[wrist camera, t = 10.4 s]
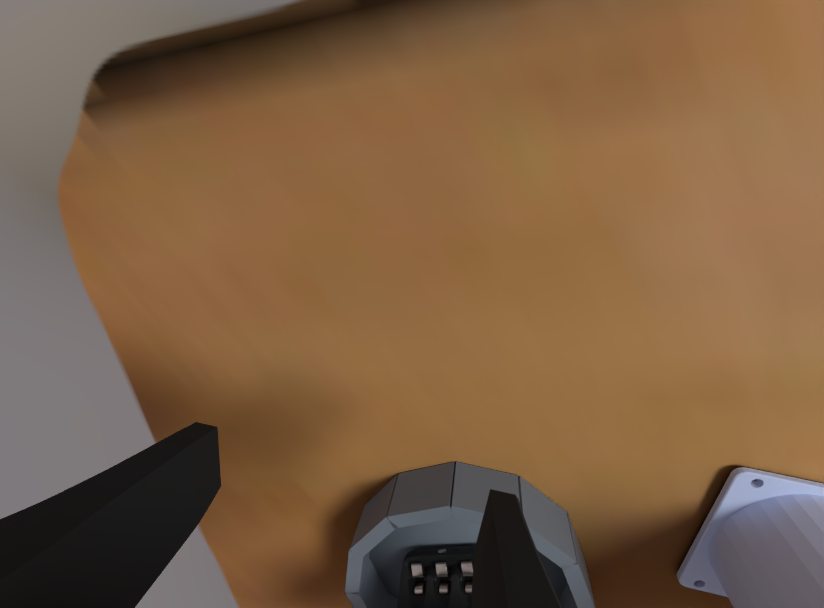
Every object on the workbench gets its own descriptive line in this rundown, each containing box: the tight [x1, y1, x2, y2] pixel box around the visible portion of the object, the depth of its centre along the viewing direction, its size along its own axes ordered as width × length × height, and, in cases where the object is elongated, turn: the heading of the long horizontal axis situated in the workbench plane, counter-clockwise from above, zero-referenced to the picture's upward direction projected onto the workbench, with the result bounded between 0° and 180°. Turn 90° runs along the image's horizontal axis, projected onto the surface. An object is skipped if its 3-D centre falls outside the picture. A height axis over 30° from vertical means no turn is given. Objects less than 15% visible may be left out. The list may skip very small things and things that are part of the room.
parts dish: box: [345, 462, 595, 608], centre depth 24 cm, size 13×13×3 cm
